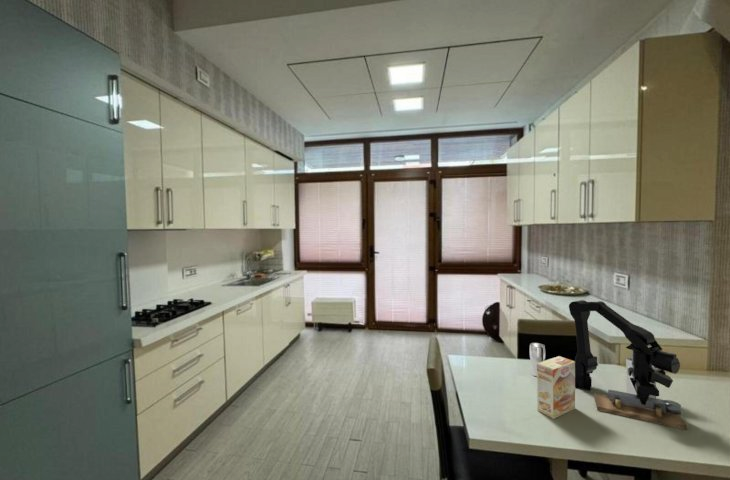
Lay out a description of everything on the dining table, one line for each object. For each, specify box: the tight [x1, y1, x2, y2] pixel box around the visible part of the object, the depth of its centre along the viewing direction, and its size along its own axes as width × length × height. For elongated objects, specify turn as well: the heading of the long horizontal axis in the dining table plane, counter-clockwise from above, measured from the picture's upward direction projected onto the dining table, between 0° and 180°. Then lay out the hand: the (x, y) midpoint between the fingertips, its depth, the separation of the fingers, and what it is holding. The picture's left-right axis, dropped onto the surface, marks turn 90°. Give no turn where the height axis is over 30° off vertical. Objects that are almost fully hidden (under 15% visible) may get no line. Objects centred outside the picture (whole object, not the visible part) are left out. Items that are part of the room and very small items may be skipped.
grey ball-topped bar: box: [607, 388, 682, 416], centre depth 123 cm, size 21×5×3 cm, turn 59°
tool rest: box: [593, 392, 688, 431], centre depth 124 cm, size 26×12×4 cm, turn 59°
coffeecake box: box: [536, 355, 576, 420], centre depth 127 cm, size 15×7×20 cm, turn 117°
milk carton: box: [625, 352, 657, 399], centre depth 134 cm, size 7×7×19 cm
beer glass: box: [529, 342, 546, 378], centre depth 158 cm, size 7×7×15 cm
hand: (642, 402), depth 123 cm, fingers closed on grey ball-topped bar, 3 cm apart
